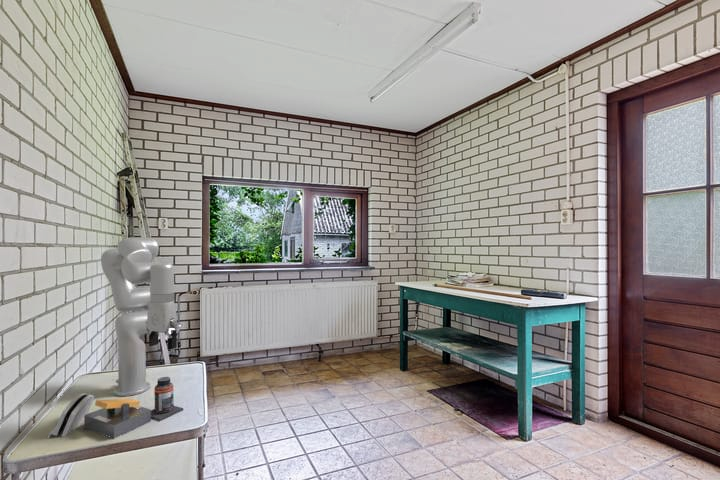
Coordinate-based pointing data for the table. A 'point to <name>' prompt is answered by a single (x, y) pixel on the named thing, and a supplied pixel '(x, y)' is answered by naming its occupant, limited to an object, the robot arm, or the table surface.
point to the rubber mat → (164, 415)
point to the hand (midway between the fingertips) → (162, 346)
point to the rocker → (116, 403)
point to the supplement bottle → (164, 395)
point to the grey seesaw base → (117, 420)
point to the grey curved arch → (73, 414)
